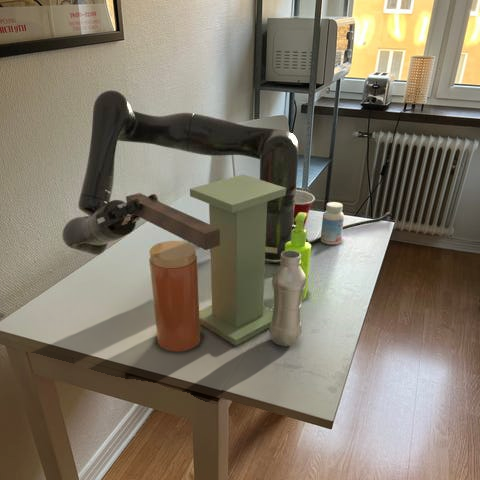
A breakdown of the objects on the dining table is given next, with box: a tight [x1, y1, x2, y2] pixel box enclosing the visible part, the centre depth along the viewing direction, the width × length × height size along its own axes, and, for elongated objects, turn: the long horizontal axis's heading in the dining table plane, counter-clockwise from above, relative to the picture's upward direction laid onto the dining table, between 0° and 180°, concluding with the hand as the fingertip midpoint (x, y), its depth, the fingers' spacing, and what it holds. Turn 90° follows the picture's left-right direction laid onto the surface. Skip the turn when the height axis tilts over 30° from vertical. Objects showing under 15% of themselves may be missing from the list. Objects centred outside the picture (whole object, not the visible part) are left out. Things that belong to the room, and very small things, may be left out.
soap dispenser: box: [285, 212, 312, 301], centre depth 114 cm, size 6×7×20 cm
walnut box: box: [125, 192, 220, 251], centre depth 89 cm, size 24×3×3 cm, turn 43°
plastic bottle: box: [268, 250, 306, 347], centre depth 98 cm, size 6×7×20 cm
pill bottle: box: [320, 201, 345, 245], centre depth 144 cm, size 6×6×11 cm
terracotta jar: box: [148, 240, 201, 352], centre depth 98 cm, size 9×9×20 cm
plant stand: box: [189, 174, 286, 346], centre depth 102 cm, size 14×14×30 cm
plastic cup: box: [293, 189, 316, 230], centre depth 148 cm, size 11×11×12 cm
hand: (147, 201), depth 93 cm, fingers closed on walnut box, 3 cm apart
